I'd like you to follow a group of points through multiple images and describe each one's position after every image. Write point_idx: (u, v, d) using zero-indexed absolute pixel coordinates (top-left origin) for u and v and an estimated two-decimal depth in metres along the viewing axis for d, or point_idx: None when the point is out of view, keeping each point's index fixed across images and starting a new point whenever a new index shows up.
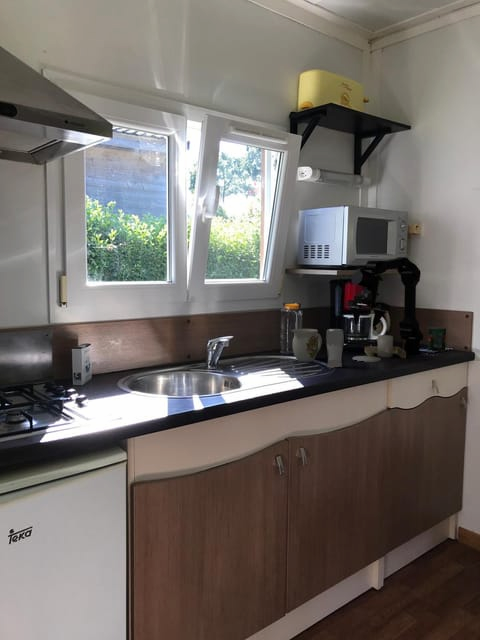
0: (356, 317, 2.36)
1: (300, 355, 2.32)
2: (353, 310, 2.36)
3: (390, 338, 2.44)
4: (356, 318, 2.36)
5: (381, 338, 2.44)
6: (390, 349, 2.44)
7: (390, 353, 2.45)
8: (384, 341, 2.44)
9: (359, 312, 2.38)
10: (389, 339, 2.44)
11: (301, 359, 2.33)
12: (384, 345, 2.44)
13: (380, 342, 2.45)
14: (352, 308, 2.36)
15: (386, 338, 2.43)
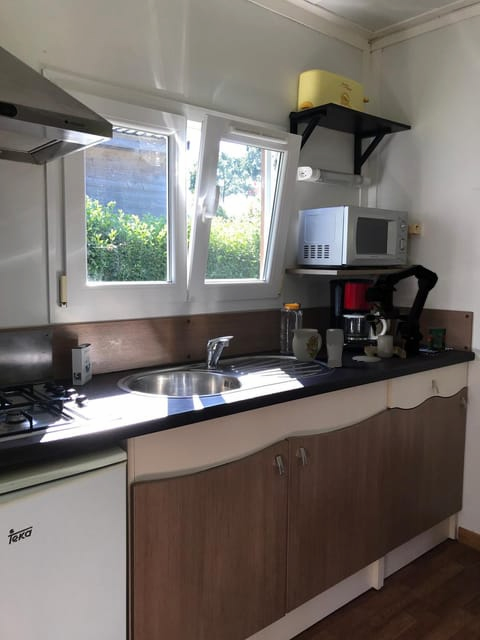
0: None
1: (300, 355, 2.32)
2: (374, 324, 2.44)
3: (390, 338, 2.44)
4: (375, 330, 2.46)
5: (381, 338, 2.44)
6: (390, 349, 2.44)
7: (390, 353, 2.45)
8: (384, 341, 2.44)
9: None
10: (389, 339, 2.44)
11: (301, 359, 2.33)
12: (384, 345, 2.44)
13: (380, 342, 2.45)
14: (373, 322, 2.44)
15: (386, 338, 2.43)
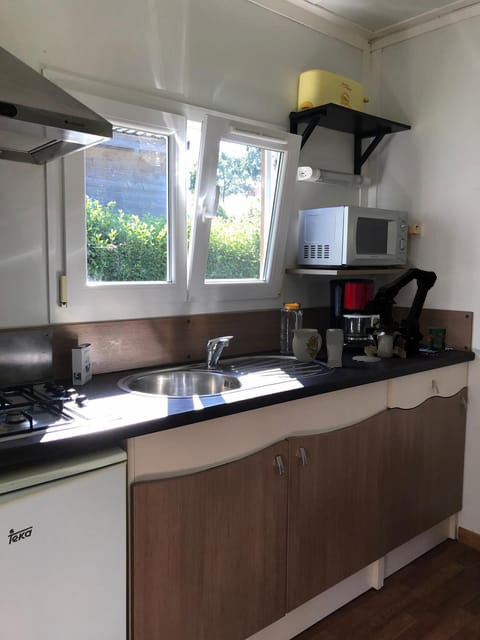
0: None
1: (300, 355, 2.32)
2: (376, 337, 2.45)
3: (390, 338, 2.44)
4: (377, 343, 2.47)
5: (381, 338, 2.44)
6: (390, 349, 2.44)
7: (390, 353, 2.45)
8: (384, 341, 2.44)
9: None
10: (389, 339, 2.44)
11: (301, 359, 2.33)
12: (384, 345, 2.44)
13: (380, 342, 2.45)
14: (376, 335, 2.44)
15: (386, 338, 2.43)
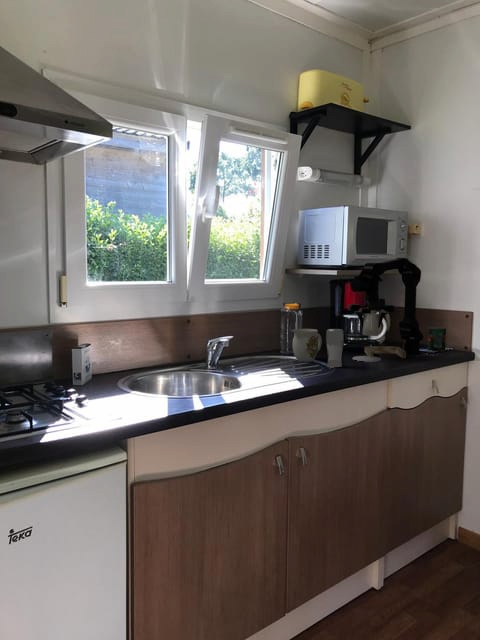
0: (362, 321, 2.38)
1: (300, 355, 2.32)
2: (361, 315, 2.36)
3: (376, 316, 2.35)
4: (362, 321, 2.38)
5: (366, 316, 2.35)
6: (375, 327, 2.35)
7: (375, 332, 2.36)
8: (369, 319, 2.35)
9: None
10: (374, 317, 2.35)
11: (301, 359, 2.33)
12: (369, 323, 2.35)
13: (365, 320, 2.36)
14: (361, 313, 2.35)
15: (371, 316, 2.35)
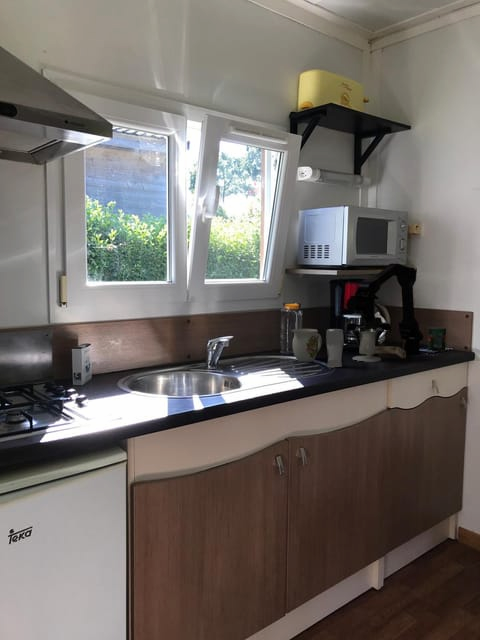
0: (359, 339, 2.37)
1: (300, 355, 2.32)
2: (357, 333, 2.35)
3: (372, 335, 2.34)
4: None
5: (363, 334, 2.35)
6: (372, 346, 2.35)
7: (372, 350, 2.35)
8: (366, 338, 2.34)
9: None
10: (371, 335, 2.34)
11: (301, 359, 2.33)
12: (366, 342, 2.34)
13: (362, 339, 2.35)
14: (357, 332, 2.34)
15: (368, 334, 2.34)
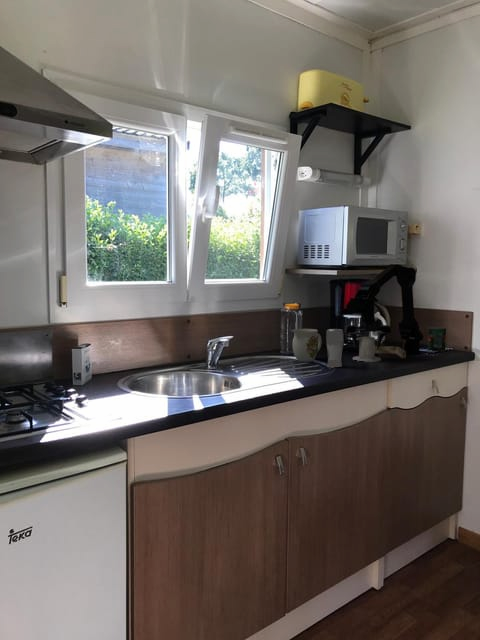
0: (356, 341, 2.37)
1: (300, 355, 2.32)
2: (354, 336, 2.35)
3: (372, 340, 2.34)
4: (356, 342, 2.37)
5: (363, 340, 2.35)
6: (372, 351, 2.35)
7: (372, 355, 2.35)
8: (366, 343, 2.34)
9: None
10: (371, 341, 2.34)
11: (301, 359, 2.33)
12: (366, 347, 2.34)
13: (362, 344, 2.35)
14: (354, 334, 2.34)
15: (368, 340, 2.34)
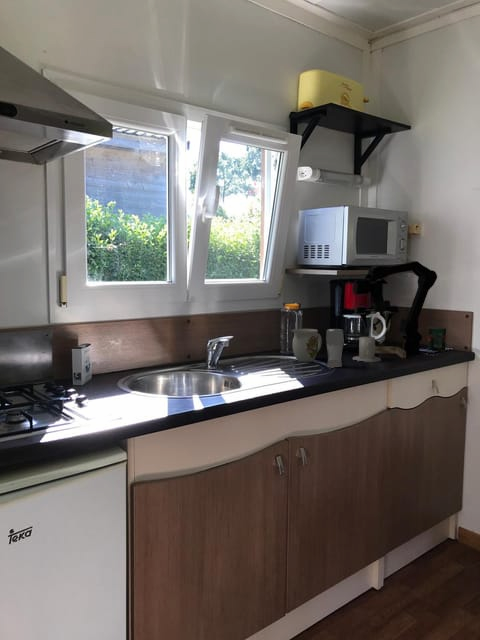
0: None
1: (300, 355, 2.32)
2: (364, 316, 2.48)
3: (372, 340, 2.34)
4: None
5: (363, 340, 2.35)
6: (372, 351, 2.35)
7: (372, 355, 2.35)
8: (366, 343, 2.34)
9: None
10: (371, 341, 2.34)
11: (301, 359, 2.33)
12: (366, 347, 2.34)
13: (362, 344, 2.35)
14: (364, 315, 2.47)
15: (368, 340, 2.34)
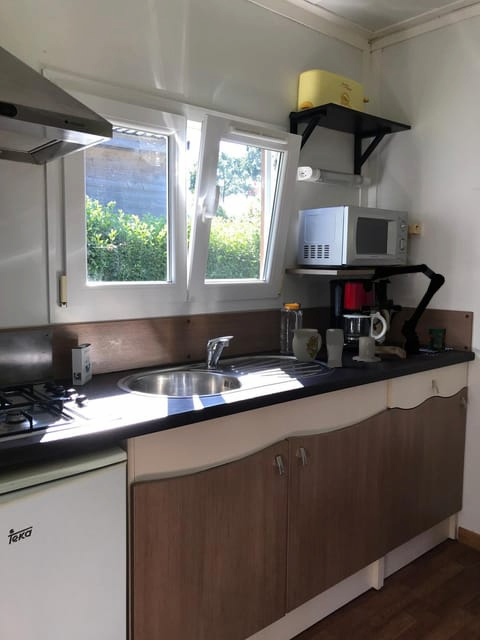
0: None
1: (300, 355, 2.32)
2: (368, 314, 2.56)
3: (372, 340, 2.34)
4: None
5: (363, 340, 2.35)
6: (372, 351, 2.35)
7: (372, 355, 2.35)
8: (366, 343, 2.34)
9: None
10: (371, 341, 2.34)
11: (301, 359, 2.33)
12: (366, 347, 2.34)
13: (362, 344, 2.35)
14: (368, 313, 2.55)
15: (368, 340, 2.34)
